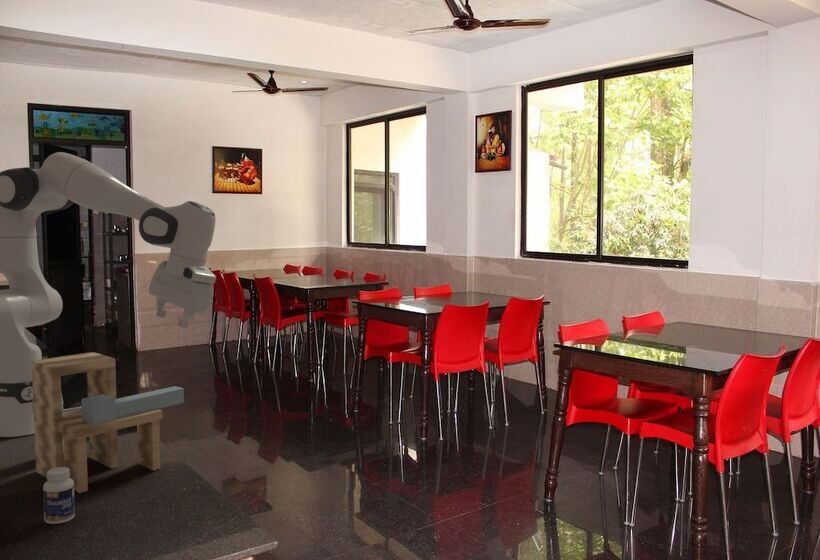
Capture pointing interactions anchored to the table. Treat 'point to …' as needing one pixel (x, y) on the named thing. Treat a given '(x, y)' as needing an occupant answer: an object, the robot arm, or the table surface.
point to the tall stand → (51, 415)
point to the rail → (128, 404)
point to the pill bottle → (58, 496)
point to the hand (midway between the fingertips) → (171, 321)
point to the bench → (80, 430)
